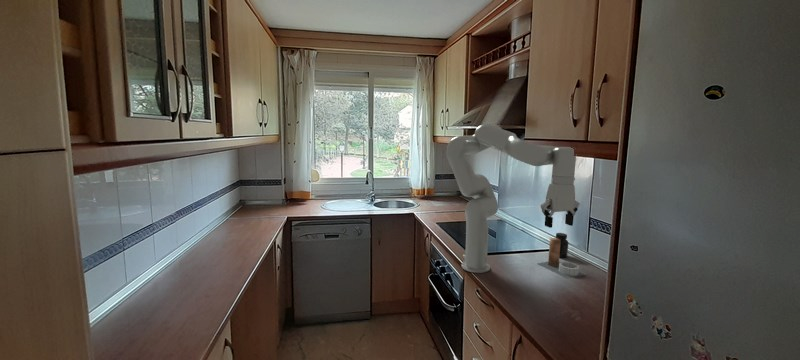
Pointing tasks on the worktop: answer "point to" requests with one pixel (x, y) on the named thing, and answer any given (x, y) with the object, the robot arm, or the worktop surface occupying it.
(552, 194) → the robot arm
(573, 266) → the bracket board
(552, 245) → the rail post
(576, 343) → the worktop surface
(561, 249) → the supplement bottle
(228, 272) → the worktop surface
